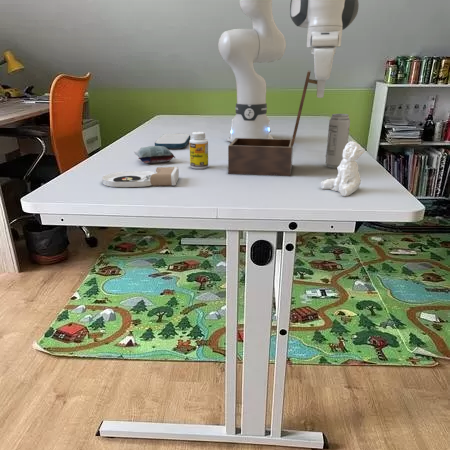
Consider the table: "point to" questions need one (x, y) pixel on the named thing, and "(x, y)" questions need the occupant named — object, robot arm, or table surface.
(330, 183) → the white creature statuette
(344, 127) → the energy drink can
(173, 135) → the external hard drive
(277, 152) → the chest
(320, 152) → the table surface
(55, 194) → the table surface
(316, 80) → the chest lid
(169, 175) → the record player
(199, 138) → the supplement bottle
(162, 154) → the packaged food
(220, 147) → the table surface
